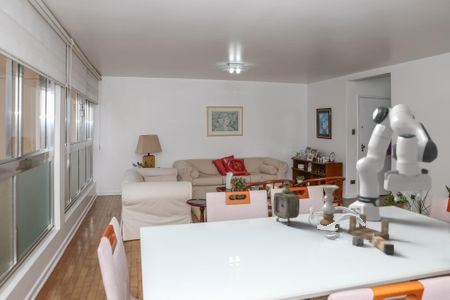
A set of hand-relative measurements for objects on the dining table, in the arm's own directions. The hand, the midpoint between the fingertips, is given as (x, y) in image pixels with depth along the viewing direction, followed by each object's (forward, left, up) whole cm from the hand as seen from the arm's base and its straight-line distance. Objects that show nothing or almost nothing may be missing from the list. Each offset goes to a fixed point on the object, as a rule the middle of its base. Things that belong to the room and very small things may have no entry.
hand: (407, 200), depth 148 cm
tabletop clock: (-62, -17, -23) cm, 68 cm away
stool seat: (-22, +4, -23) cm, 32 cm away
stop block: (-16, -12, -23) cm, 31 cm away
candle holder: (-42, -4, -23) cm, 48 cm away
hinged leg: (-7, -8, -23) cm, 25 cm away
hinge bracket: (-14, -3, -23) cm, 27 cm away
